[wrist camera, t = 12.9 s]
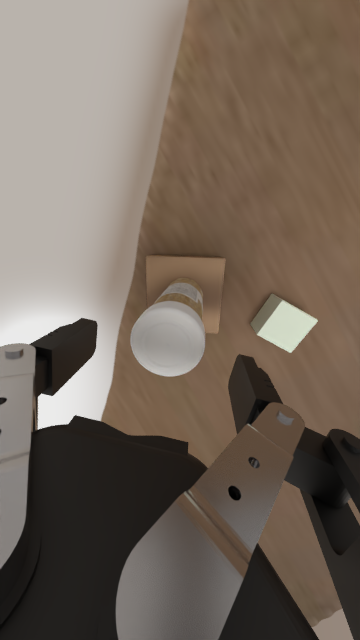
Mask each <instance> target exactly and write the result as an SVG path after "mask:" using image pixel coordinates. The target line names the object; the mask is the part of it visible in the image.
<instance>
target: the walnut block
mask: <svg viewBox="0 0 360 640" xmlns="http://www.w3.org/2000/svg"><path fill="white" fill-rule="evenodd" d="M224 269H225V258H223V257H201V256H171V255H149V256H146V287H147V309H148V308H149V307H150V306H152V305H153V304H154V303H155V301H156V300H157V299H158V298H159V297H160V296H161V294H162V293H163V292H164V291H165V290H166V289H167V288H168V286H169V285H170V284H171V283H172V282H173V281H175V280H177V279H179V278H188V279H191V280H193V281H195V282H196V283H197V284H198V285H199V286H200V288H201V290H202V293H203V314H202V323H203V325H204V329H205V333H217V334H218V331H219V320H220V310H221V300H222V289H223V279H224Z"/></svg>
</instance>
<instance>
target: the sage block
mask: <svg viewBox="0 0 360 640" xmlns="http://www.w3.org/2000/svg"><path fill="white" fill-rule="evenodd" d="M317 321H318V320H317V319H315V318H313V317H312V316H310V315H309V314H307V313H305V312H304V311H302V310H300V309H299V308H297V307H295V306H293V305H292V304H290V303H288V302H286V301H284V300H283V299H281V298H279V297H277V296H276V295H274V294H271V295H270V297H269V298H268V299H267V301H266V302H265V304H264V305H263V306H262V308H261V309H260V311H259V312H258V313H257V315H256V316H255V318H254V319H253V320H252V322H251V323H250V324H251V326H252V328H253V329H254V331H255V332H256V334H257V335H259V336H260V337H262V338H264V339H266V340H268V341H270V342H272V343H273V344H275V345H277V346H279V347H281V348H283V349H284V350H286V351H288V352H290V353H291V352H292V351H293V350H294V349H295V348H296V346H297V345H298V344H299V343H300V342H301V340H302V339H303V338H304V337H305V336H306V334H307V333H308V332H309V331H310V330H311V328H312V327H313V326H314V325H315V324H316V323H317Z"/></svg>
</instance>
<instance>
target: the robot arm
mask: <svg viewBox="0 0 360 640" xmlns="http://www.w3.org/2000/svg"><path fill="white" fill-rule="evenodd" d="M96 338H97V323H96V321H93V320H88V319H84V318H81V319H79V320H78V321H76V322H75V323H73V324H69V325H66V326H62V327H59V328H58V329H56V330H54V331H53V332H50V333H49V334H48V335H46V336H43V337H42V338H40V339H38V340H36V341H35V342H33V343H31V344H29V345H28V344H20V343H19V344H10V345H5V346H2V347H0V640H319V639H318V637H317V636H316V634H315V632H314V631H313V629H312V628H311V626H310V625H309V623H308V621H307V620H306V618H305V617H304V615H303V614H302V612H301V610H300V609H299V607H298V606H297V604H296V603H295V601H294V599H293V598H292V596H291V595H290V593H289V592H288V590H287V588H286V587H285V585H284V584H283V582H282V581H281V579H280V577H279V576H278V574H277V573H276V571H275V570H274V568H273V566H272V565H271V563H270V562H269V560H268V559H267V557H266V555H265V554H264V552H263V551H262V549H261V548H260V546H259V544H258V543H257V542H258V540H259V537H260V535H261V533H262V530H263V528H264V526H265V523H266V521H267V519H268V516H269V514H270V512H271V509H272V507H273V505H274V502H275V500H276V497H277V495H278V493H279V490H280V488H281V486H282V483H283V481H284V480H285V481H287V482H289V483H290V484H292V485H294V486H296V487H298V488H299V489H300V491H301V494H302V497H303V499H304V502H305V505H306V508H307V510H308V513H309V516H310V519H311V522H312V524H313V527H314V530H315V533H316V536H317V538H318V541H319V544H320V547H321V550H322V552H323V555H324V558H325V561H326V563H327V566H328V569H329V572H330V575H331V577H332V580H333V583H334V586H335V589H336V591H337V594H338V597H339V600H340V603H341V605H342V608H343V611H344V614H345V616H346V619H347V622H348V625H349V627H350V630H351V633H352V636H353V639H354V640H360V525H359V523H358V522H357V520H356V518H355V516H354V514H353V512H352V510H351V508H350V506H349V505H348V503H347V502H348V500H349V499H350V498H352V500H353V502H354V503H355V505H356V507H357V509H358V511H359V513H360V439H358V438H357V437H355V436H354V435H352V434H350V433H348V432H346V431H343V430H340V429H332V430H330V432H329V433H328V435H327V436H324V435H321V434H319V433H317V432H315V431H313V430H311V429H308V428H306V427H305V423H304V420H303V419H302V417H301V416H300V415H299V414H298V413H297V412H296V411H294V410H293V409H292V408H290V407H288V406H286V405H284V404H283V403H282V401H281V399H280V397H279V395H278V393H277V391H276V389H275V388H274V386H273V384H272V383H271V380H270V378H269V376H268V374H266V373H265V372H264V371H263V370H262V369H261V368H258V367H257V365H256V363H255V360H254V358H253V357H249V356H244V355H240V354H239V355H238V356H237V358H236V361H235V364H234V367H233V370H232V373H231V376H230V379H229V384H228V389H229V395H230V400H231V405H232V410H233V415H234V421H235V426H236V431H237V436H236V437H235V438H234V439H233V440H232V441H231V443H230V444H229V445H228V446H227V447H226V448H225V450H224V451H223V452H222V453H221V454H220V455H219V456H218V458H217V459H216V460H215V461H214V462H213V463H212V465H211V466H210V467H209V468H207V467H206V466H205V465H204V464H203V463H202V462H201V461H200V460H198V459H197V458H195V457H194V456H192V455H191V454H189V453H188V442H184V441H180V440H176V439H172V438H167V437H163V436H130V435H127V434H125V433H123V432H121V431H119V430H117V429H115V428H113V427H111V426H109V425H108V424H106V423H104V422H101V421H96V420H92V419H88V418H84V417H80V416H76V415H75V416H74V417H73V419H72V420H71V421H70V423H69V424H67V425H55V426H50V427H46V428H42V429H39V430H38V429H37V428H38V396H39V395H40V394H41V393H42V394H46V395H51V396H53V395H54V394H55V393H56V392H57V391H58V390H59V389H60V388H61V387H62V386H63V385H64V384H65V383H66V382H67V381H68V380H69V379H70V378H71V377H72V376H73V375H74V374H75V373H76V372H77V371H78V370H79V369H80V368H81V367H82V366H83V365H84V364H85V363H86V362H87V361H88V360H89V359H90V358H91V357H92V356H93V354H94V352H95V349H96Z"/></svg>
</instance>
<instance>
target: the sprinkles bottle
mask: <svg viewBox="0 0 360 640" xmlns="http://www.w3.org/2000/svg"><path fill="white" fill-rule="evenodd" d="M202 314H203V293H202V290H201V288H200V286H199V285H198V284H197V283H196V282H195V281H193V280H191V279H188V278H179V279H177V280H175V281H173V282H172V283H171V284H170V285H169V286H168V288H167V289H166V290H165V291H164V292H163V293H162V294H161V296H160V297H159V298H158V299H157V300H156V301H155V303H154V304H153V305H152V306H150V307H149V308H148V309H147V310H145V311H144V313H143V314H142V315H141V316H140V317H139V319H138V320H137V321H136V323H135V324H134V327H133V329H132V332H131V348H132V351H133V353H134V356H135V357H136V359H137V360H138V362H139V363H140V364H141V365H142V366H143V367H144V368H146V369H147V370H149V371H150V372H152V373H155V374H158V375H161V376H178V375H182V374H185V373H187V372H188V371H190V370H192V369H193V368H194V367H195V366H196V365H197V364H198V363H199V361H200V360H201V358H202V356H203V353H204V349H205V329H204V325H203V323H202Z"/></svg>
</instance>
